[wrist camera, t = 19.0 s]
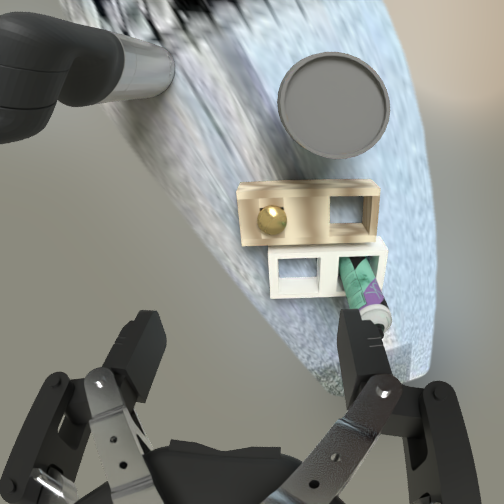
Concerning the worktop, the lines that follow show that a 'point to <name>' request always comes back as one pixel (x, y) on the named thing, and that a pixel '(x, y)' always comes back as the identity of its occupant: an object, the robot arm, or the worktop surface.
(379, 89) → the reusable coffee cup
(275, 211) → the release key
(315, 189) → the socket block
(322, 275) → the frame
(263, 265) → the worktop surface
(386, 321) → the spray can
